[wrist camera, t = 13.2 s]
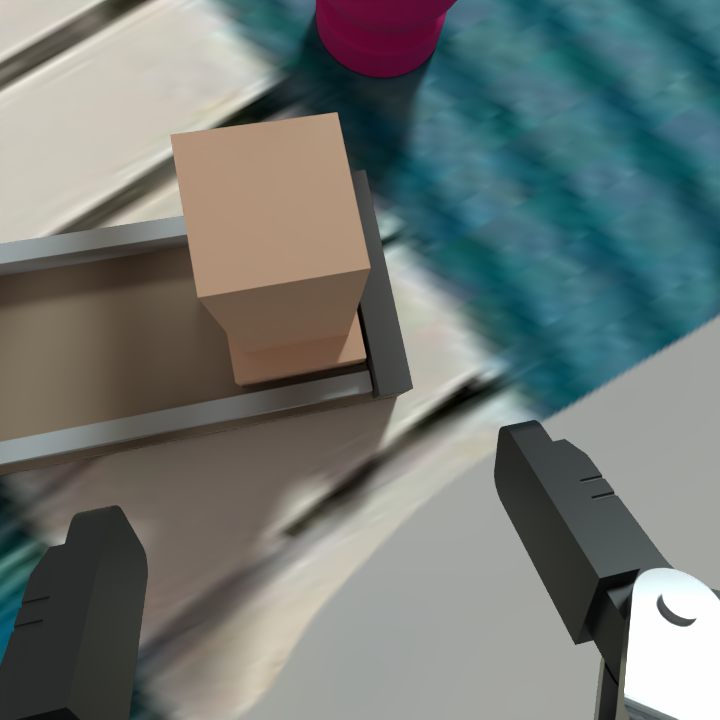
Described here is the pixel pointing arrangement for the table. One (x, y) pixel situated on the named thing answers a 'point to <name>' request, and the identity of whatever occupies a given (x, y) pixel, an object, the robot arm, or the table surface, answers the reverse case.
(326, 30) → the pepper mill
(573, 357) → the table surface
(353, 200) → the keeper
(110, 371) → the track
